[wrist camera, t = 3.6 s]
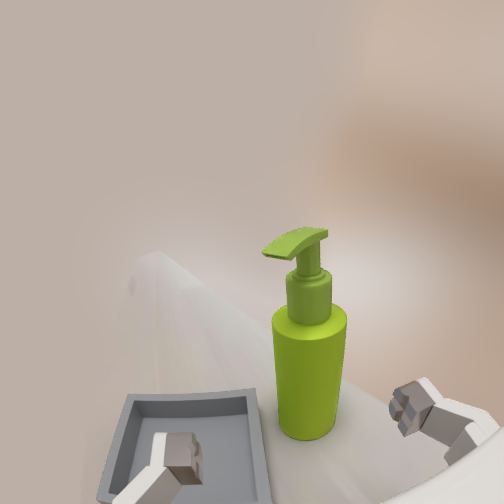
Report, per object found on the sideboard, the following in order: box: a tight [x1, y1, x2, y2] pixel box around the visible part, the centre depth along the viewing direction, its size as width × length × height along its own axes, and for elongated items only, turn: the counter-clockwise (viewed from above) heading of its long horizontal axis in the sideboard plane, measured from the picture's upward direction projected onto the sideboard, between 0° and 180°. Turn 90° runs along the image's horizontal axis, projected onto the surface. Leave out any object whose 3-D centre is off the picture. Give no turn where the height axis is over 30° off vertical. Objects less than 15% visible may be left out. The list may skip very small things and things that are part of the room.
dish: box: [96, 388, 272, 504], centre depth 20 cm, size 14×14×4 cm
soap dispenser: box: [262, 227, 347, 441], centre depth 22 cm, size 6×7×20 cm
